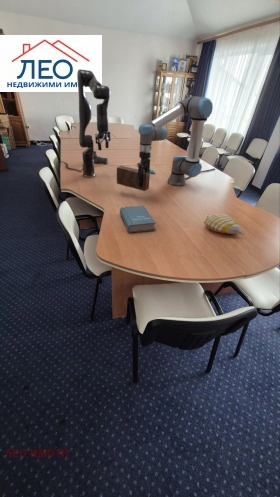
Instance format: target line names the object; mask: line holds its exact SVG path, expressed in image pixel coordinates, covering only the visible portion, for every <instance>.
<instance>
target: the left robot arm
mask: <svg viewBox="0 0 280 497" xmlns="http://www.w3.org/2000/svg"><path fill="white" fill-rule="evenodd" d="M76 78H77V90H78V91H77V92H78V120H79V122H78V123H79V124H78V125H79V127H78V128H79V129H78V130H79V131H78V142H79V143H78V144H79V146H80V148H82V149H83V148H86V149H85V150H83V151H82V153H81V155H82V168H81V169H80V170H79V169H77V168H72V167H71V168H70V167H68V163H67V162H65V161H59V162H58V163H59V164H60V163H64V164H65V165H66V169H68V170H74V171H77V172H80V173H81V172H82V174H83V176H84V177H85V178H94V177H95V175H96V174H95V163H94V157H93V153H94V151H95V150H94V140H95V144H97V149H98V151H102V143H103V142H104V144H105V149H109V148H110V145H109V144H110V142H111V131H109V111H108V110H109V109H108V108H109V102H110V99H111V98H110V97H111V89H110V87H109V86H108V85H102V83H101V82H100V81H99V80H98V79H97V78H96V75H95V74H94V72H93V71H92V70H88V69H81V68H80V69H78V70H77V73H76ZM84 87H86V88H89V90H90V91H91V93H92V96H93V98H94V99H96V100H102V102H101V103H98V104H96V130H97V132H98V133H95V136H94V137H95V138H93V136H92V135H91V134H86V130H87V128H88V126H89V124H90V123H91V120H92V106H91V104H90V101H88V99H87V98H88V97H87V96H86V94H85V90H84Z"/></svg>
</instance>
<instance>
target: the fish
mask: <svg viewBox="0 0 280 497" xmlns="http://www.w3.org/2000/svg"><path fill="white" fill-rule="evenodd" d="M203 223H204V225H205V226H206V227H207V228H208V229H210V230H212V231H214V232H217V233H222V234H227V235H237V234H239V235H244V234H245V233H244V232H243V231H242V229H241V227H240V225H239V224H238V222H237V219H236V218H235V217H232V216H230V215H229V214H228V213H216V214H210V215H207V216H206V218H205V219H204V220H203Z"/></svg>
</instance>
